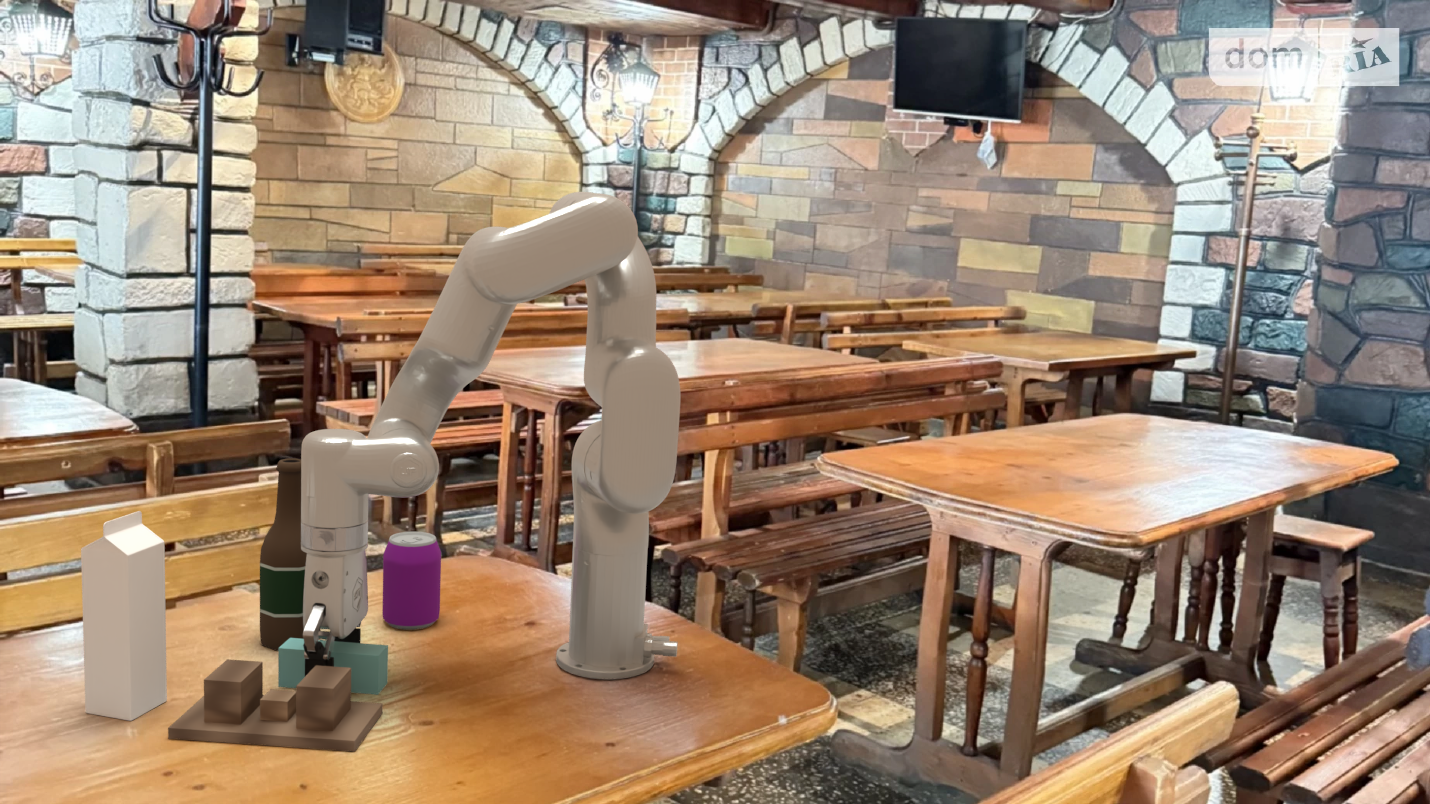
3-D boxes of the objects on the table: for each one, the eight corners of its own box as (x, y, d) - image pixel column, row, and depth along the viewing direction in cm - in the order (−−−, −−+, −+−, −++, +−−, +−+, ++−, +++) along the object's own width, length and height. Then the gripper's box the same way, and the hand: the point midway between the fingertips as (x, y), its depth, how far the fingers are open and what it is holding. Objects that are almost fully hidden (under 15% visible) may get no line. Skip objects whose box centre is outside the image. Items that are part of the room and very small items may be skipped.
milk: (84, 713, 138) (77, 520, 135) (123, 693, 144) (117, 507, 141) (132, 721, 137) (126, 526, 133) (169, 700, 143) (164, 512, 139)
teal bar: (387, 684, 151) (388, 645, 151) (378, 696, 148) (378, 655, 147) (289, 677, 152) (290, 637, 151) (278, 688, 148) (278, 648, 148)
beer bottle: (302, 655, 158) (303, 469, 155) (246, 647, 160) (246, 463, 156) (333, 635, 166) (334, 457, 162) (279, 627, 167) (280, 451, 164)
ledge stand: (382, 713, 143) (383, 663, 142) (354, 751, 133) (355, 697, 132) (208, 701, 143) (208, 651, 142) (168, 738, 133) (167, 685, 132)
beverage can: (414, 608, 178) (415, 526, 176) (451, 622, 173) (453, 538, 171) (370, 621, 172) (371, 537, 170) (407, 636, 167) (409, 549, 165)
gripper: (342, 558, 138) (340, 705, 141) (388, 518, 155) (385, 650, 158) (274, 554, 138) (274, 700, 141) (327, 514, 155) (326, 646, 158)
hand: (333, 674), depth 150 cm, fingers open, 9 cm apart
